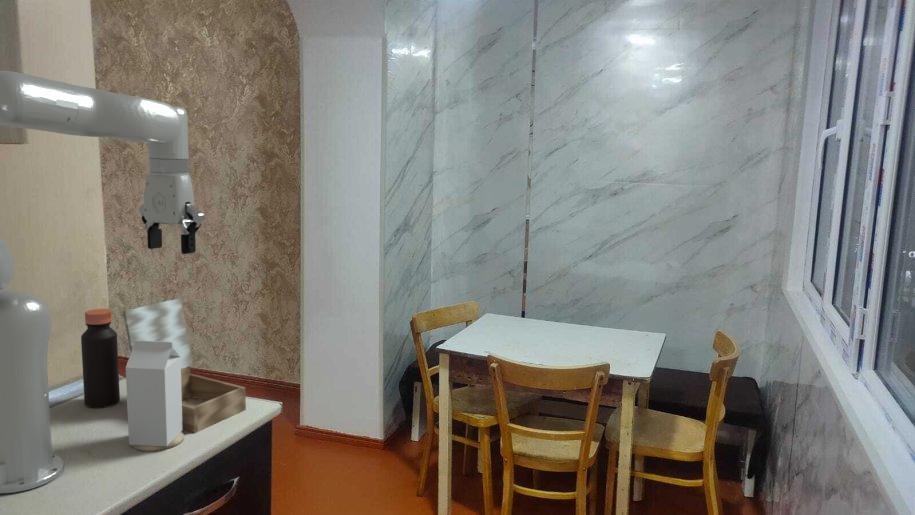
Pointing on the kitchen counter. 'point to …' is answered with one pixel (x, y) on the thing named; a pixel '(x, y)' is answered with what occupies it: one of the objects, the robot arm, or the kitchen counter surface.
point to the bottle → (100, 360)
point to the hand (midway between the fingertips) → (171, 250)
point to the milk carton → (153, 394)
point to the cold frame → (185, 365)
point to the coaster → (159, 448)
